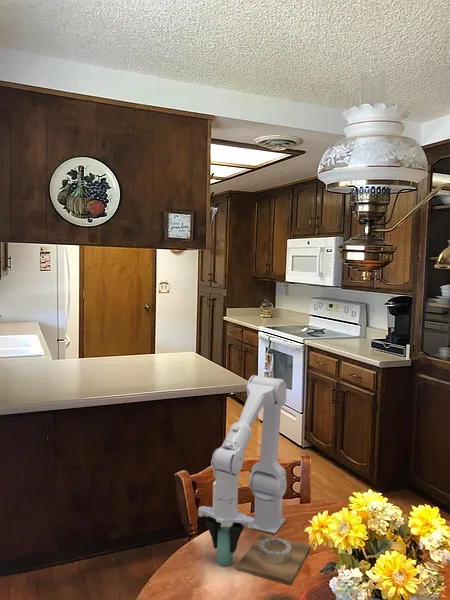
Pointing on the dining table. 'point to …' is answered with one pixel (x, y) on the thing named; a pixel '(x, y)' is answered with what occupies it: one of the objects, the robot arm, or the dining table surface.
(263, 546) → the socket ring
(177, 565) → the dining table surface
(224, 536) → the peg
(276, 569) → the walnut board
